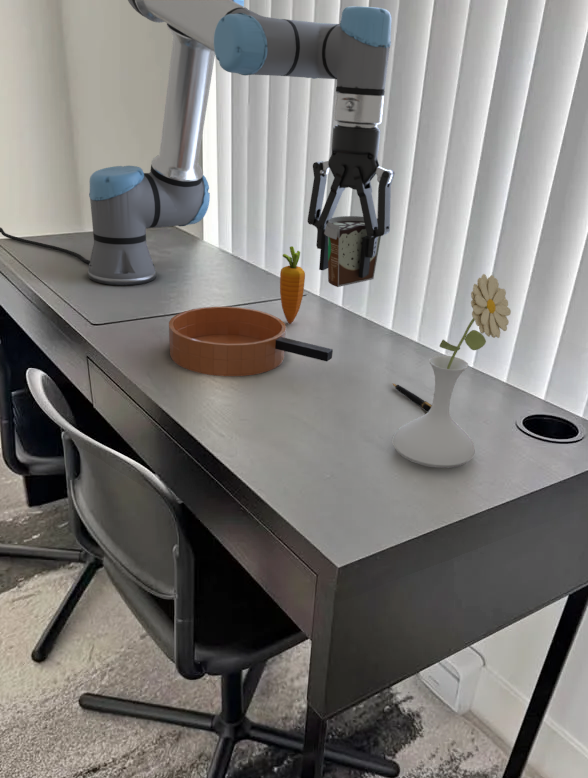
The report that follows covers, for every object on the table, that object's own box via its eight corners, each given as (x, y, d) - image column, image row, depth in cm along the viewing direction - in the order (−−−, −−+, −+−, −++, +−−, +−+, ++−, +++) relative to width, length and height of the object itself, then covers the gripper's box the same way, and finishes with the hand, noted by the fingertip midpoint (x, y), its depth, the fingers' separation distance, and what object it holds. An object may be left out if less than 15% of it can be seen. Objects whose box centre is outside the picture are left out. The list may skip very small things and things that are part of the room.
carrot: (299, 328, 140) (304, 252, 133) (275, 325, 141) (278, 249, 133) (304, 321, 145) (309, 246, 137) (280, 318, 145) (284, 243, 138)
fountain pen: (388, 387, 118) (389, 378, 117) (394, 386, 118) (395, 377, 118) (440, 422, 107) (442, 414, 106) (447, 421, 108) (448, 412, 107)
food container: (353, 270, 129) (358, 213, 124) (378, 278, 125) (385, 219, 120) (305, 280, 121) (309, 219, 116) (331, 288, 118) (336, 226, 113)
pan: (146, 358, 122) (144, 327, 119) (211, 327, 138) (211, 299, 135) (246, 386, 115) (247, 354, 112) (303, 350, 130) (305, 321, 127)
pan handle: (274, 348, 120) (274, 339, 119) (279, 345, 121) (280, 336, 121) (327, 361, 116) (327, 352, 115) (332, 358, 118) (332, 349, 117)
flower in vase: (418, 482, 92) (452, 291, 79) (375, 442, 100) (400, 265, 87) (499, 467, 96) (544, 285, 83) (451, 430, 105) (485, 261, 92)
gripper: (290, 120, 111) (283, 266, 123) (408, 132, 104) (388, 287, 116) (312, 118, 117) (303, 258, 129) (424, 130, 110) (404, 277, 122)
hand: (343, 272), depth 122 cm, fingers closed on food container, 7 cm apart
